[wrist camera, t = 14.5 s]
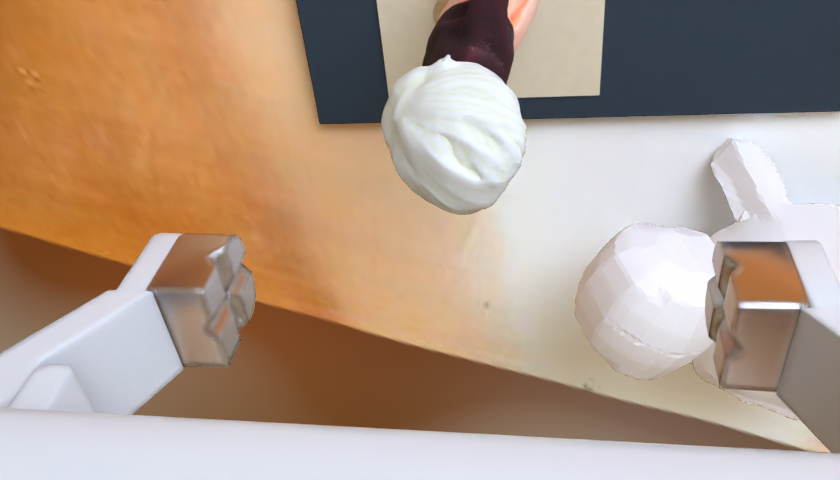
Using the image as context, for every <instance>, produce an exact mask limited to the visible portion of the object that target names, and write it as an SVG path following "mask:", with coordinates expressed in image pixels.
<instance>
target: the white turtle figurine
mask: <svg viewBox="0 0 840 480" xmlns="http://www.w3.org/2000/svg"><path fill="white" fill-rule="evenodd" d="M711 168H712V171H713V173H714V175H715V178H716V179H717V180H718V181H719V182H720V184H721V186H722V189H723V191H724V193H725V194H726V199H727V201H728V204H729V206H730V208H731V210H732V211H733V213H734V218H735V220H736V222H735V223H734V224H732V225H730V226H728V227H726V228H724V229H722V230H720V231H718V232H716V233H715V234H714V235H712V236H711V237H708V235H707V234H705V233H702V232H698V231H694V230H691V229H687V228H683V227H675V228H665V227H661V226H656V225H652V224H648V223H643V224H636V225H630V226H628V227H626V228H625V229H623V230H622V231H620V232H619V233H618V234H617V235H616V236H615V237H614V238H612V239H611V240H610V241H609V242H608V243H607V244H606V245H605V246H604V247H603V248H602V250H601V251H600V252H599V253H598V254H597V256H596V257H595V258H594V259H593V261H592V262H591V263H590V264H589V266H588V267H587V268H586V270H585V272H584V274H583V276H582V278H581V281H580V283H579V285H578V289H577V294H576V299H575V316H576V318H577V320H578V322H579V324H580V325H581V327H582V329H583V331H584V333H585V335H586V337H587V339H588V341H589V342H590V344H591V346H592V347H593V348H594V350H595V351H596V352H597V353H598V354H599V355H600V356H601V357H603V358H604V359H605V361H606V362H607V363H608V364H609V365H610V366H611V367H612V368H613V369H614V370H615V371H617V372H620V373H623V374H625V375H626V376H629V377H632V378H634V379H640V380H650V379H656V378H660V377H663V376H666V375H668V374H670V373H672V372H674V371H675V370H677V369H679V368H681V367H683V366H685V365H687V364H688V363H689V362H691V361H692V362H693V365H694V369H695V371H696V373H697V375H699V376H700V378H701V379H703V380H704V381H706V382H708V383H711V384H713V385H715V386H717V387H718V388H720V386H719V382H718V377H717V373H716V369H715V364H714V360H713V354H714V349H715V344H716V343H715V342H714V341H713V340H712V339H710V338H709V337H708V332H707V327H706V319H705V297H706V290H707V284H708V281H709V280H710V279H711V278H712V277H714V276H715V272H714V268H713V264H712V257H713V252H714V248H715V245H716V243H717V241H766V242H782V241H798V240H817V241H818V242H819V243H821V244H822V247H823V249H824V251H825V253H826V256H827V258H828V260H829V262H830V265H831V267H832V269H833V271H834V273H835V276H836V278H837V280H838V282H839V285H840V205H839V206H835V205H832V204H825V205H817V204H814V203H791V201H790V200H789V198H788V196H787V195H786V187H785V186H784V184H783V182H782V180H781V177H780V175H779V174H778V171H776V166H775V165H774V164H773V162H772V161H771V160H770V159H769V158H768V156H767V155H766V154H765V153H764V152H763V151H762V150H761V149H760V148H759V147H758V146H757V145H756V144H754V143H750V142H747V141H743V140H738V139H733V138H729V139H728V140H727V141H726V142H725V144H724V145H723V146H722V147H721V148H720V149H719V150H718V151H716V153H715V156H714V159H713V161H712V163H711ZM720 389H721V388H720ZM723 390H725V391H726V392H728V393H730V394H732V395H734V396H736V397H738V399H739V400H741V401H744V402H745V403H747V404H750V405H753V404H757V405H760V406H762V407H764V408H766V409H769V410H772V411H774V412H777V413H779V414H781V415H784V416H785V417H787V418H791V419H793V420H800V419H799V418H798V417H797V416H796V415H795V414H794V413H793V412H792V411H791V410H790V409H789V408H788V407H787V406H786V405H785V403H784V402H783V401H782V400H781V399H780V398H779V397H778V396H777V395H776V392H766V391H751V390H736V389H723Z"/></svg>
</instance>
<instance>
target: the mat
mask: <svg viewBox="0 0 840 480" xmlns="http://www.w3.org/2000/svg"><path fill="white" fill-rule="evenodd" d="M437 1H438V0H296V3H297V8H298V13H299V18H300V24H301V29H302V34H303V39H304V44H305V49H306V55H307V60H308V65H309V70H310V75H311V80H312V86H313V91H314V96H315V101H316V106H317V112H318V117H319V122H320V124H347V123H381V119H382V114H383V110H384V107H385V105H386V103H387V101H388V98H389V94H390V91H391V88H392V86H393V84H394V83H395V82H396V81H397V80H398V79H399V78H401V77H402V76H403V75H405V74H406V73H408V72H409V71H411V70H413V69H414V68H417V67H420V66H422V63H423V59H424V56H425V53H426V46H427V42H428V39H429V36H430V34H431V32H432V30H433V29H434V27H435V25H436V23H435V21H434V19H433V10H434V7H435V4H436V3H437ZM506 85H507V86H508V87H509V88H510V89H511V90H512V91H513V92H514V94H515V95H516V97H517V99H518V102H519V106H520V113H521V117H522V119H547V118H588V117H628V116H668V115H708V114H748V113H788V112H828V111H840V0H539V3H538V7H537V10H536V13H535V15H534V18H533V20H532V22H531V24H530V26H529V28H528V29H527V31H526V33H525V35H524V37H523V39H522V41H521V43H520V44H519V46H518V48H517V49H516V51H515V52H514V59H513V64H512V67H511V71H510V74H509V77H508V81H507V84H506Z"/></svg>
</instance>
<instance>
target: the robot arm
mask: <svg viewBox="0 0 840 480" xmlns="http://www.w3.org/2000/svg"><path fill="white" fill-rule="evenodd" d="M245 254H246V252H245V249H244V246H243V243H242V240H241V238H239V237H238V236H236V235H222V234H194V233H185V234H182V233H158V234H156V235H154V236H152V238H151V239H150V241H149V242H148V244H147V245H146V247H145V248H144V250H143V251H142V253H141V254H140V256H139V257H138V259H137V260H136V261H135V263H134V264H133V266H132V267H131V269H130V270H129V272H128V273H127V275H126V276H125V278H124V280H123V281H122V282H121V284H120V285H119V287H118V288H117V290H108V291H106V292H105V293H103V294H101V295H100V296H98V297H96V298H94V299H93V300H91V301H89V302H87V303H86V304H84V305H82V306H81V307H79V308H77V309H76V310H74V311H72V312H71V313H69V314H67V315H65V316H63V317H62V318H60V319H58V320H57V321H55V322H53V323H52V324H50V325H48V326H46V327H45V328H43V329H41V330H40V331H38V332H36V333H34V334H33V335H31V336H29V337H28V338H26V339H24V340H22V341H21V342H19V343H17V344H16V345H14V346H12V347H11V348H9V349H7V350H5V351H4V352H2V353H0V480H840V285H839V282H838V280H837V278H836V276H835V273H834V271H833V269H832V267H831V265H830V262H829V260H828V258H827V256H826V253H825V251H824V249H823V247H822V244H821V243H819V242H818V241H817V240H798V241H782V242H766V241H717V243H716V245H715V248H714V252H713V257H712V264H713V268H714V272H715V276H714V277H712V278H711V279H710V280H709V281H708V284H707V290H706V297H705V319H706V327H707V332H708V337H709V338H710V339H712V340H713V341H714V342H715V343H716V344H715V349H714V354H713V360H714V364H715V369H716V373H717V377H718V382H719V386H720V388H721V389H736V390H751V391H766V392H776V395H777V396H778V397H779V398H780V399H781V400H782V401H783V402H784V403H785V405H786V406H787V407H788V408H789V409H790V410H791V411H792V412H793V413H794V414H795V415H796V416H797V417H798V418H799V419H800V420H801V421H802V422H803V423H804V424H805V425H806V426H807V428H808V429H809V430H810V431H811V432H812V433H813V434H814V435H815V436H816V437H817V438H818V439H819V440H820V441H821V442H822V443H823V444H824V445H825V446H826V447H827V448H828V449H829V450H830V452H831V453H826V452H808V451H789V450H788V451H787V450H771V449H752V448H733V447H731V448H730V447H712V446H692V445H691V446H690V445H673V444H657V443H639V442H638V443H637V442H620V441H601V440H585V439H565V438H548V437H531V436H513V435H495V434H477V433H476V434H475V433H457V432H438V431H419V430H400V429H381V428H364V427H345V426H326V425H306V424H289V423H270V422H252V421H234V420H216V419H196V418H179V417H159V416H143V415H132V414H133V413H134V412H135V411H137V410H138V409H139V408H140V407H141V406H142V405H144V404H145V403H146V402H147V401H148V400H149V399H150V398H152V397H153V396H154V395H155V394H156V393H157V392H158V391H160V390H161V389H162V388H163V387H164V386H165V385H166V384H168V383H169V382H170V381H171V380H172V379H173V378H174V377H176V376H177V375H178V374H179V373H180V372H181V371H183V369H184V368H183V367H226V368H228V367H229V366H230V363H231V361H232V359H233V357H234V354H235V352H236V350H237V348H238V345H239V343H240V341H241V339H240V336H239V333H238V330H239V329H240V328H242V327H243V326H244V325H246V324H247V323H248V322H249V321H250V318H251V315H252V313H253V311H254V304H255V297H256V291H255V282H254V279H253V275H252V272H251V271H250V270H249V269H248V268H246V267H245V266H244V265H243V264H242V263H241V262H242V260H243V258H244V256H245Z"/></svg>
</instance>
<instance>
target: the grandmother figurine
mask: <svg viewBox="0 0 840 480" xmlns="http://www.w3.org/2000/svg"><path fill="white" fill-rule="evenodd" d="M538 3H539V0H438V1H437V3H436V4H435V7H434V10H433V19H434V21H435V23H436V25H435V27H434V29H433V30H432V32H431V34H430V36H429V39H428V42H427V46H426V53H425V56H424V59H423V63H422V66H420V67H417V68H414V69H413V70H411V71H409V72H408V73H406V74H405V75H403V76H402V77H401V78H399V79H398V80H397V81H396V82H395V83H394V84H393V86H392V88H391V91H390V94H389V98H388V101H387V103H386V105H385V107H384V110H383V114H382V119H381V127H382V131H383V135H384V138H385V141H386V144H387V146H388V148H389V150H390V153H391V158H392V160H393V163H394V166H395V168H396V171H397V173H398V175H399V176H400V177H401V179H402V180H403V181H404V182H405V183H406V184H407V186H408V187H409V188H410V189H411V190H412V191H413V192H414V193H416V194H417V195H419V196H420V197H421V198H423V199H424V200H426V201H428V202H430V203H431V204H433V205H435V206H437V207H439V208H441V209H443V210H445V211H447V212H450V213H454V214H460V215H466V214H473V213H475V212H478V211H480V210H481V209H486V208H488V207H490V206H492V205H493V204H494V203H495V201H496V200H497V199H498V197H499V196H500V195H501V194H502V192H503V191H504V190H505V189H506V187H507V185H508V183H509V181H510V180H511V179H512V178H513V176H514V175H515V174H516V172H517V171H518V169H519V168H520V166H521V162H522V157H523V155H524V153H525V148H526V133H527V127H526V125H525V123H524V121H523V119H522V117H521V113H520V106H519V102H518V99H517V97H516V95H515V94H514V92H513V91H512V90H511V89H510V88H509V87H508V86H507V85H506V84H507V81H508V77H509V74H510V71H511V67H512V64H513V59H514V52H515V51H516V49H517V48H518V46H519V44H520V43H521V41H522V39H523V37H524V35H525V33H526V31H527V29H528V28H529V26H530V24H531V22H532V20H533V18H534V15H535V13H536V10H537V7H538Z"/></svg>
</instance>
